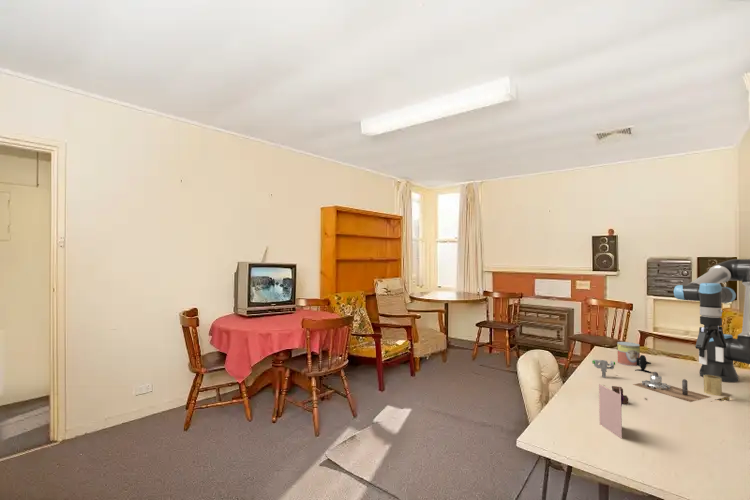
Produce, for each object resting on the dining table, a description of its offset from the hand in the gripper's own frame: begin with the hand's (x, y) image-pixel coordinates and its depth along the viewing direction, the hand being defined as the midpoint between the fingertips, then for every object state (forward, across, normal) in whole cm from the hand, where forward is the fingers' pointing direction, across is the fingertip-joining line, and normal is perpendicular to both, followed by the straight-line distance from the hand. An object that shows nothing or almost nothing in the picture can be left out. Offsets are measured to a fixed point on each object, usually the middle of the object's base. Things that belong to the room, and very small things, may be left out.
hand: (711, 362), depth 167 cm
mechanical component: (+16, -24, +34) cm, 45 cm away
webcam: (+15, +8, +34) cm, 39 cm away
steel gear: (+14, -14, +16) cm, 25 cm away
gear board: (+16, -14, +10) cm, 23 cm away
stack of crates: (+17, -46, +13) cm, 51 cm away
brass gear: (+15, 0, 0) cm, 15 cm away
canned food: (+15, +21, +50) cm, 57 cm away
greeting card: (+17, -77, -6) cm, 79 cm away
